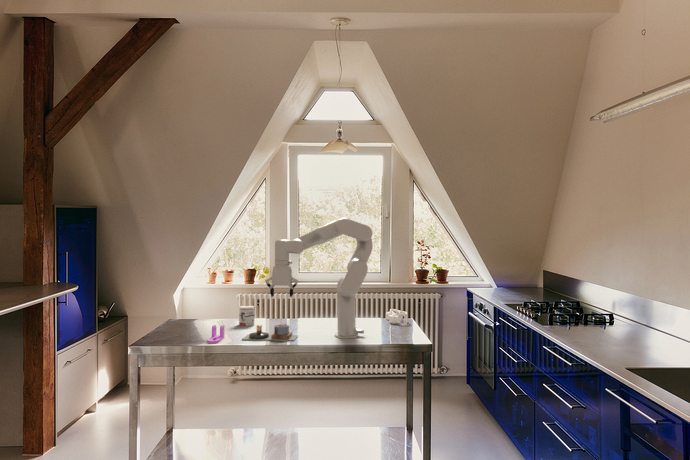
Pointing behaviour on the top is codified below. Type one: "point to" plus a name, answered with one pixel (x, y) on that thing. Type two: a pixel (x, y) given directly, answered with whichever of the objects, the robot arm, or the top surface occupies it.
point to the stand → (281, 335)
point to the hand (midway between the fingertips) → (281, 296)
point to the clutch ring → (281, 329)
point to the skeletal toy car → (396, 316)
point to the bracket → (215, 337)
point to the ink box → (246, 316)
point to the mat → (271, 339)
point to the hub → (259, 334)
